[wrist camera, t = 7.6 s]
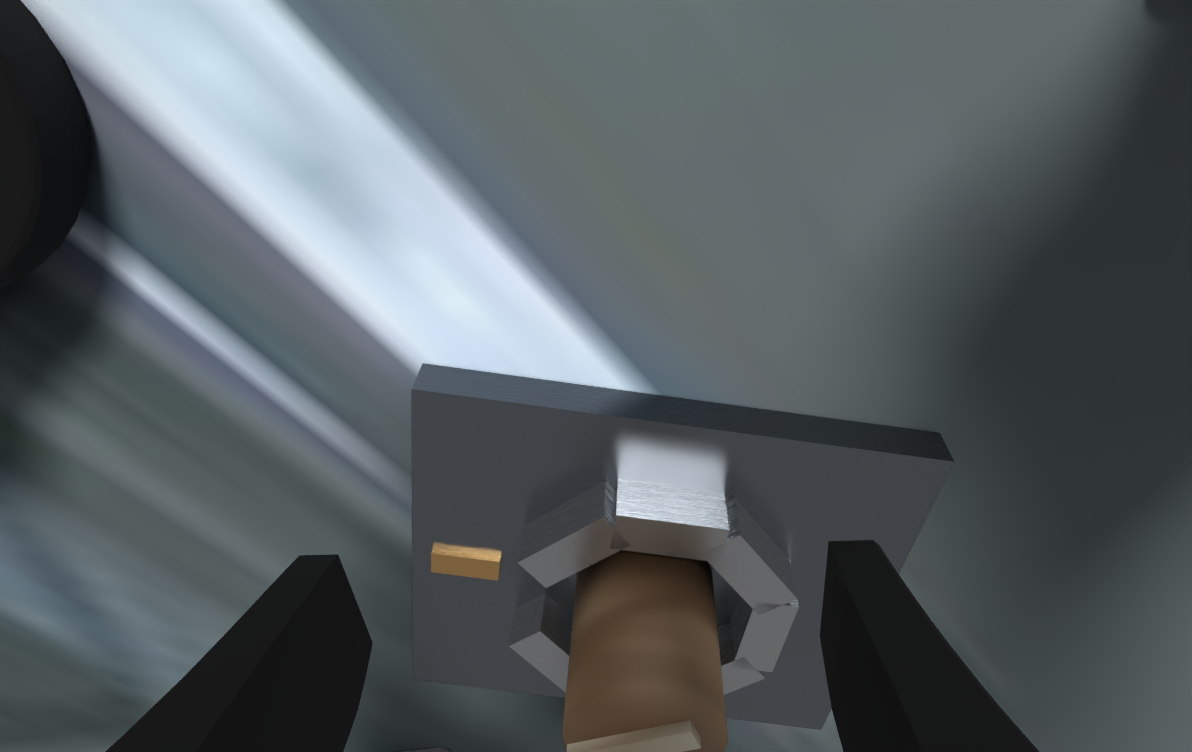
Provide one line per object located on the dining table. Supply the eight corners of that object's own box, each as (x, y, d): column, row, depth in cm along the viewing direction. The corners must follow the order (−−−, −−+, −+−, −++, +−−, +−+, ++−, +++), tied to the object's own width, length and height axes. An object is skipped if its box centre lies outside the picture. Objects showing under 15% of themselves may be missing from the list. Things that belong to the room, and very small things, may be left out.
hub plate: (939, 433, 21) (973, 499, 19) (814, 698, 28) (829, 769, 26) (422, 363, 21) (397, 422, 18) (421, 649, 27) (402, 717, 25)
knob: (686, 515, 22) (696, 684, 17) (729, 607, 24) (750, 779, 19) (554, 550, 23) (532, 718, 18) (607, 635, 25) (599, 805, 20)
